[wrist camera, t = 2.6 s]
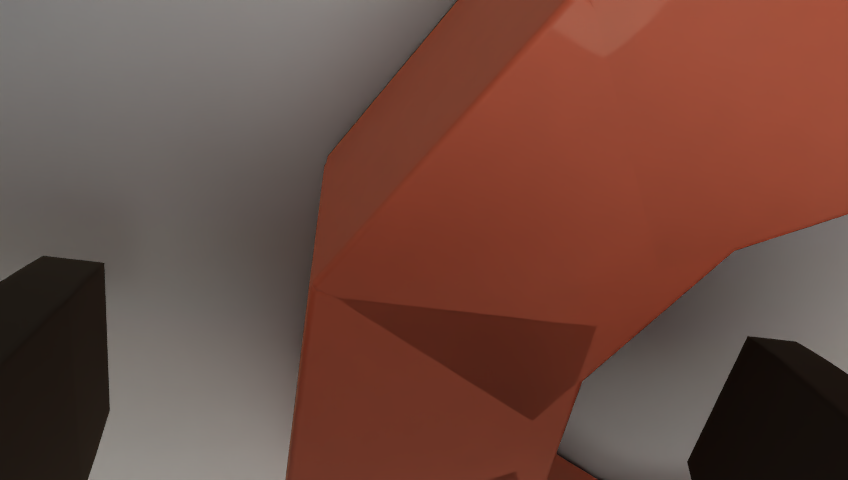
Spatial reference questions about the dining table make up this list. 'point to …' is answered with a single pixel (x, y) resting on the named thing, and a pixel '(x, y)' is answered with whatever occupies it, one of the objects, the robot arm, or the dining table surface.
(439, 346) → the ring
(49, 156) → the dining table surface
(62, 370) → the robot arm
